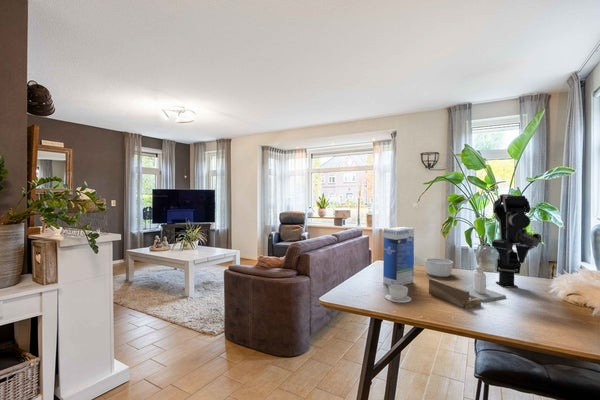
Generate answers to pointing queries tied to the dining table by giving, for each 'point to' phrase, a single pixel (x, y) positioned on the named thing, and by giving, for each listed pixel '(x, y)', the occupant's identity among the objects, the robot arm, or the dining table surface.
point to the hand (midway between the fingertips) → (513, 263)
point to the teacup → (398, 294)
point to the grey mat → (484, 295)
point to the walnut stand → (452, 294)
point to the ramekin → (438, 267)
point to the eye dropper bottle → (479, 280)
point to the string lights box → (398, 256)
